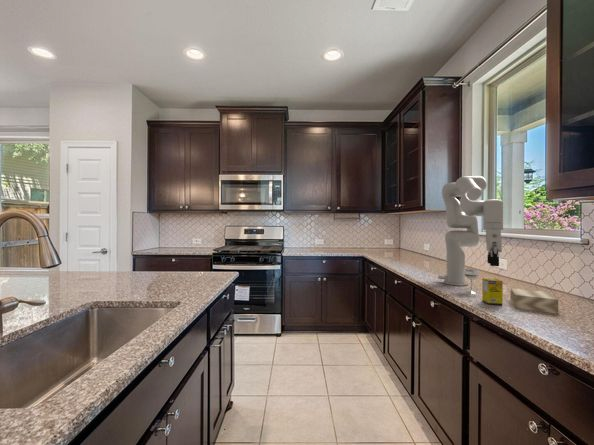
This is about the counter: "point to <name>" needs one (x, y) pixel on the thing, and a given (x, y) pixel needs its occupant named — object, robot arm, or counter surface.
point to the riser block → (534, 300)
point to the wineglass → (471, 277)
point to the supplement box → (492, 291)
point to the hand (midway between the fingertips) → (493, 264)
